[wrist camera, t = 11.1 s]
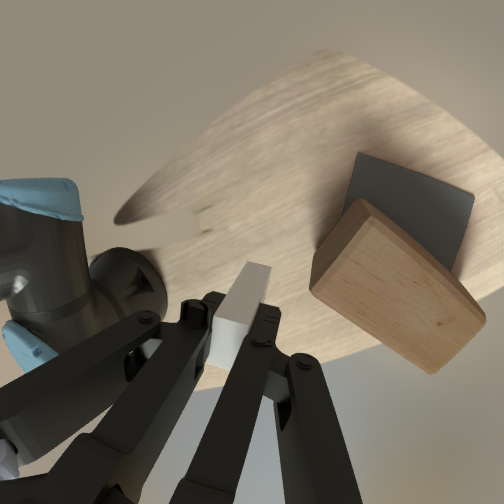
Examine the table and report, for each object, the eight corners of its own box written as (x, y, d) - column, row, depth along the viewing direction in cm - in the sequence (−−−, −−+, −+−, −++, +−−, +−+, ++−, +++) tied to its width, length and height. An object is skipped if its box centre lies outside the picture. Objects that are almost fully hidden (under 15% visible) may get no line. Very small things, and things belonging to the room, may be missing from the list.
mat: (332, 246, 36) (332, 247, 35) (358, 152, 31) (358, 152, 31) (445, 280, 33) (446, 281, 33) (474, 196, 29) (475, 197, 29)
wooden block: (370, 210, 23) (491, 321, 23) (357, 192, 32) (462, 283, 32) (303, 294, 27) (432, 380, 27) (309, 257, 36) (415, 333, 36)
